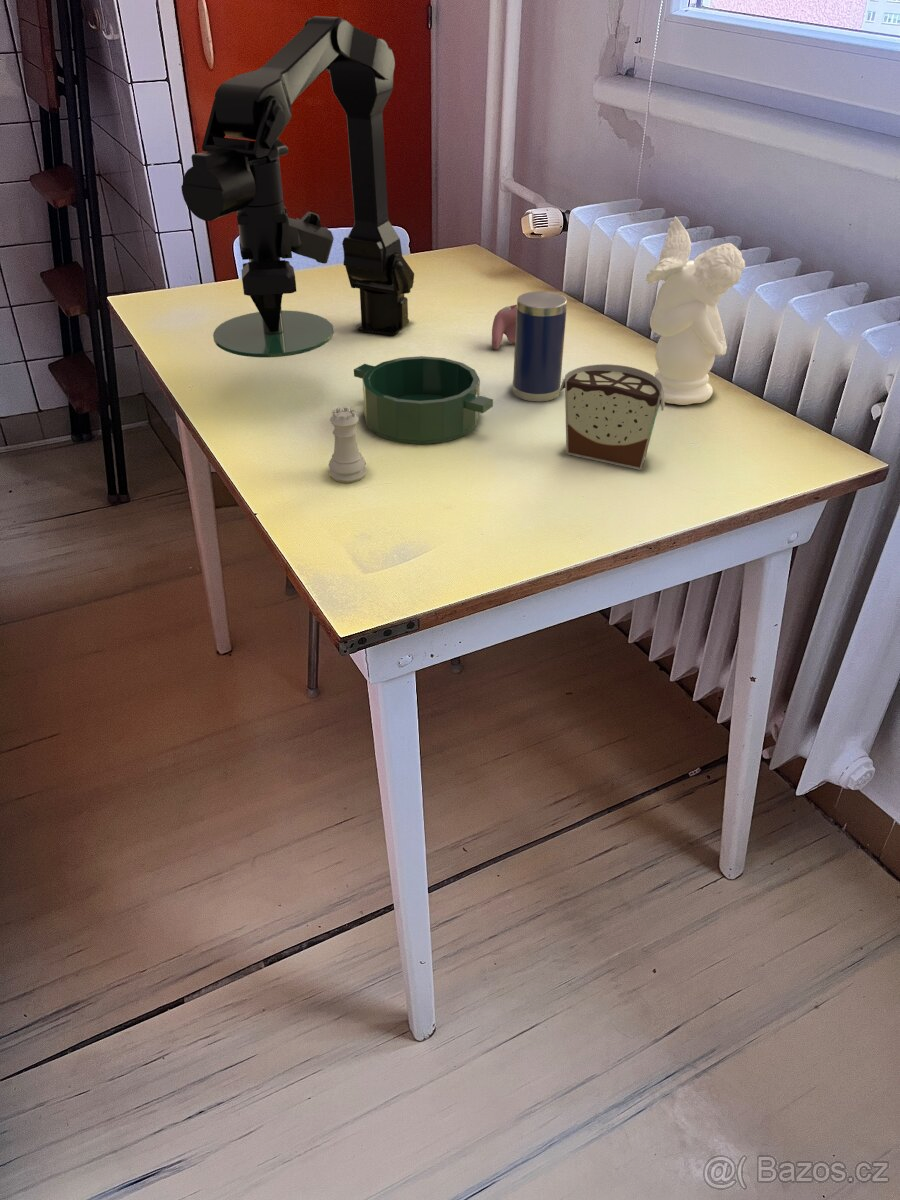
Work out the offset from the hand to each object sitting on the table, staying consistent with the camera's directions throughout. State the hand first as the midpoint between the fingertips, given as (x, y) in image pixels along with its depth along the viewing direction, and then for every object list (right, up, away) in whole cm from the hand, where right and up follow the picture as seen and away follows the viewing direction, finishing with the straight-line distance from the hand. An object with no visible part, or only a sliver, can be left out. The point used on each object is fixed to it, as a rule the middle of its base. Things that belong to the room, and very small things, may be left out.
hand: (273, 327), depth 122 cm
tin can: (+35, -7, +6) cm, 36 cm away
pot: (+19, -12, -1) cm, 23 cm away
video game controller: (+34, +3, +20) cm, 40 cm away
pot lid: (0, -1, +1) cm, 1 cm away
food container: (+43, -18, -8) cm, 47 cm away
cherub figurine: (+53, -8, +6) cm, 53 cm away
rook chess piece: (+11, -21, -13) cm, 27 cm away
